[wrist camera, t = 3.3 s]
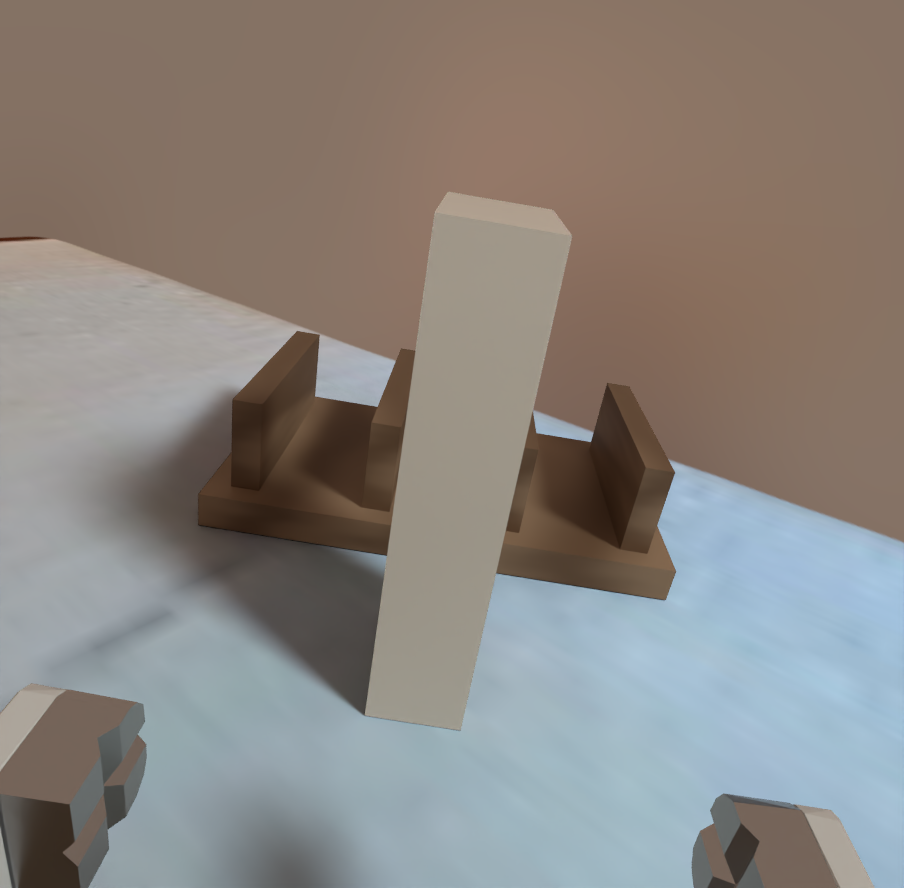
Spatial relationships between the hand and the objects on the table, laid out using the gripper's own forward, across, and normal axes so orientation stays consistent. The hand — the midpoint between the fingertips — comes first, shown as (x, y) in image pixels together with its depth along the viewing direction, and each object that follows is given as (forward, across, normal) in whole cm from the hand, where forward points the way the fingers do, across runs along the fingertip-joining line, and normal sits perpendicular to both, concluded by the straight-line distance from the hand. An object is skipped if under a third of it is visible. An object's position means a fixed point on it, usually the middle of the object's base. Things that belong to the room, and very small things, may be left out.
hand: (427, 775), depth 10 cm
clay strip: (+11, 0, +8) cm, 14 cm away
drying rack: (+23, 0, +8) cm, 25 cm away
